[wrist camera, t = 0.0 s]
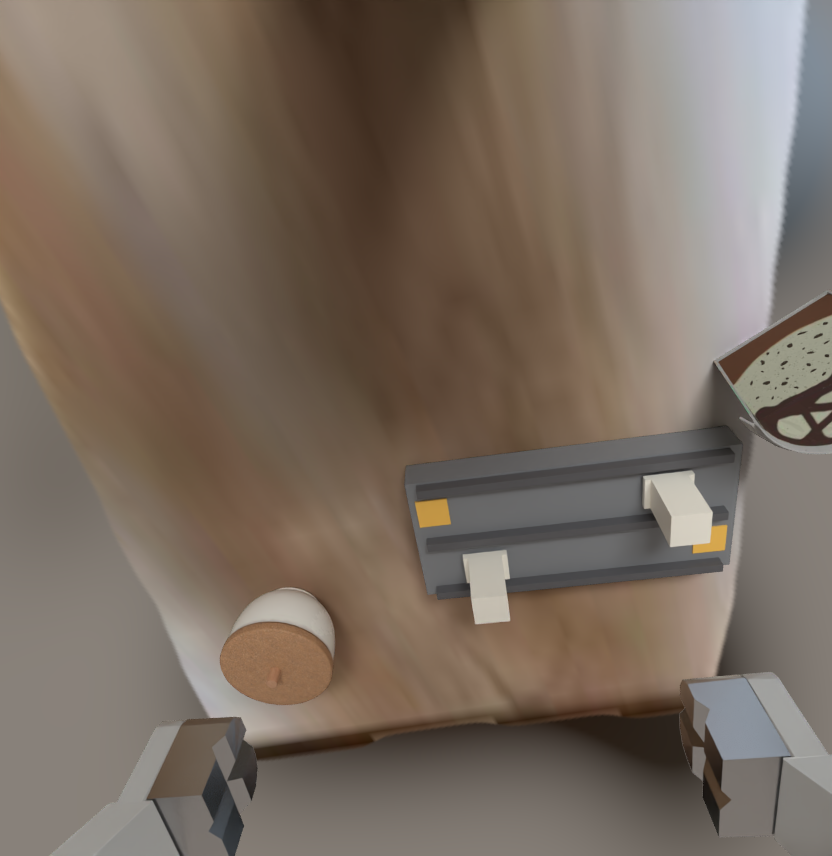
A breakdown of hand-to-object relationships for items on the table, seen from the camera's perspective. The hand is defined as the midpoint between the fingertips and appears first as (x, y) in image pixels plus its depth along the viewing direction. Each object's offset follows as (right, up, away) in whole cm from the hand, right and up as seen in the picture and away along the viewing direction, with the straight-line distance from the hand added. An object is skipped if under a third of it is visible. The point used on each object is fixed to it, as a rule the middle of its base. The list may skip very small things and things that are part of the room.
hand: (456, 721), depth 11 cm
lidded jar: (-14, -14, +53) cm, 56 cm away
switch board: (+13, -2, +45) cm, 47 cm away
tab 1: (+6, -7, +45) cm, 46 cm away
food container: (+29, +11, +37) cm, 49 cm away
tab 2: (+20, 0, +40) cm, 45 cm away
